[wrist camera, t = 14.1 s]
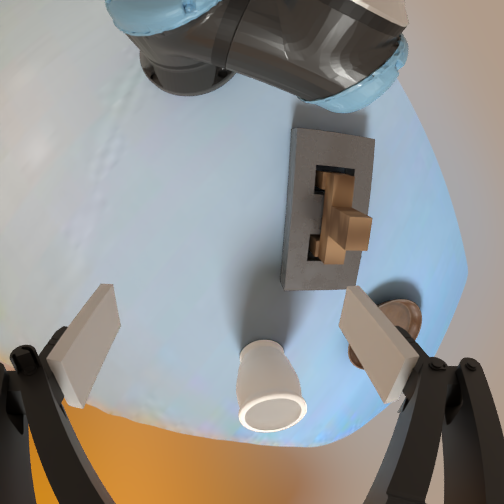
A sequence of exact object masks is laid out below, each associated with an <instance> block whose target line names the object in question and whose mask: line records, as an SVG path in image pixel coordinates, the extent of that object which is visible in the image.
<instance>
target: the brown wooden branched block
mask: <svg viewBox="0 0 504 504" xmlns="http://www.w3.org/2000/svg"><path fill="white" fill-rule="evenodd" d="M354 181H355V177H354V176H350V175H348V174H344V173H339V172H330V171H320V170H316V174H315V186H316V187H318V188H320V189H325V197H324V207H323V217H322V226H321V234H310V238H309V247H308V249H309V250H310V252H311V253H312V254H313V255H314V257H318V258H319V259H320V260H321V261H322V262H323V264H344V259H345V253H346V250H351V251H367V250H368V244H369V238H370V231H371V225H372V218H371V217H369V216H367V215H365V214H364V213H362V212H360V211H358V210H356V209H354V208H352V201H353V191H354Z"/></svg>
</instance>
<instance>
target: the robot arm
mask: <svg viewBox="0 0 504 504" xmlns="http://www.w3.org/2000/svg"><path fill="white" fill-rule="evenodd" d="M105 4H106V8H107V10H108V12H109V14H110V16H111V17H112V19H113V22H114V24H115V26H116V27H117V28H118V29H119V30H120V31H123V33H125V34H126V35H127V36H128V37H129V38H130V40H131V41H132V42H133V43H134V44H135V45H136V46H137V47H138V48H139V49H140V62H141V66H142V69H143V71H144V73H145V74H146V76H147V77H148V79H149V80H150V81H151V82H152V83H154V84H155V85H156V86H157V87H158V88H160V89H161V90H163V91H165V92H168V93H170V94H174V95H179V96H197V95H202V94H206V93H209V92H211V91H214V90H216V89H218V88H219V87H221V86H223V85H224V84H225V83H227V82H228V81H229V80H230V79H231V78H232V77H233V76H234V75H235V74H236V73H239V74H242V75H245V76H248V77H250V78H253V79H256V80H259V81H261V82H264V83H267V84H269V85H272V86H274V87H277V88H279V89H281V90H284V91H286V92H289V93H291V94H293V95H296V96H297V97H298V98H299V99H300V100H301V101H303V102H306V103H311V104H316V105H318V106H320V107H322V108H325V109H327V110H329V111H332V112H335V113H351V112H355V111H358V110H360V109H362V108H364V107H366V106H368V105H369V104H371V103H372V102H374V101H375V100H376V99H377V98H379V97H380V96H381V95H382V94H383V93H384V92H385V91H386V90H387V89H388V88H389V87H390V86H391V85H392V84H393V82H394V81H395V80H396V78H397V77H398V75H399V72H398V70H399V69H400V68H401V67H403V66H404V65H405V62H406V60H407V56H408V43H407V41H406V39H405V38H404V35H403V34H402V32H403V30H404V29H405V28H406V27H407V25H408V24H409V22H408V17H407V14H406V9H405V0H105ZM120 327H121V324H120V319H119V314H118V309H117V304H116V299H115V293H114V287H113V284H101V285H100V286H99V287H98V288H97V290H96V291H95V292H94V293H93V295H92V296H91V297H90V299H89V300H88V301H87V302H86V304H85V305H84V306H83V308H82V309H81V310H80V312H79V313H78V314H77V316H76V317H75V318H74V320H73V321H72V322H71V324H70V325H69V327H65V326H63V327H62V328H60V329H59V330H57V331H56V332H55V334H54V335H53V336H52V338H51V339H50V340H49V342H48V344H46V346H45V347H44V349H43V350H42V351H41V353H40V354H39V356H38V354H37V352H36V350H35V348H34V347H33V346H31V345H22V346H19V347H17V348H16V349H14V350H13V351H12V353H11V354H10V360H11V362H12V364H13V366H14V368H15V370H16V371H6V369H5V367H4V365H3V364H2V363H0V504H36V499H35V493H34V487H33V480H32V473H31V463H30V453H29V434H28V424H29V427H30V431H31V434H32V437H33V440H34V443H35V446H36V449H37V452H38V455H39V457H40V460H41V463H42V466H43V468H44V471H45V473H46V476H47V478H48V480H49V483H50V485H51V487H52V489H53V491H54V494H55V496H56V498H57V500H58V502H59V504H116V503H115V502H114V501H113V499H112V498H111V496H110V495H109V493H108V492H107V490H106V488H105V487H104V485H103V484H102V482H101V480H100V479H99V477H98V476H97V474H96V472H95V470H94V469H93V467H92V465H91V463H90V462H89V460H88V458H87V456H86V454H85V452H84V450H83V448H82V446H81V444H80V442H79V440H78V438H77V436H76V434H75V432H74V430H73V428H72V426H71V424H70V421H69V419H68V417H67V414H66V412H65V410H64V407H63V405H62V404H61V402H62V400H63V398H64V397H65V399H66V401H67V403H68V405H69V406H73V407H77V408H82V409H83V408H84V405H85V403H86V401H87V398H88V396H89V394H90V391H91V389H92V387H93V384H94V382H95V380H96V377H97V375H98V373H99V371H100V369H101V366H102V364H103V362H104V360H105V358H106V356H107V353H108V351H109V349H110V347H111V345H112V343H113V341H114V339H115V337H116V335H117V333H118V331H119V329H120ZM339 328H340V329H341V331H342V333H343V334H344V336H345V338H346V339H347V341H348V343H349V344H350V346H351V348H352V349H353V351H354V353H355V354H356V356H357V358H358V359H359V361H360V363H361V364H362V366H363V368H364V370H365V371H366V373H367V375H368V376H369V378H370V380H371V382H372V383H373V385H374V387H375V389H376V390H377V392H378V394H379V396H380V397H381V399H382V401H383V403H384V404H386V403H390V402H394V401H397V400H398V399H399V397H400V395H401V393H402V391H403V393H404V394H405V396H406V398H405V400H404V402H403V403H402V405H401V407H400V409H399V410H398V413H400V414H399V418H398V421H397V424H396V427H395V430H394V433H393V436H392V438H391V441H390V444H389V447H388V449H387V452H386V454H385V457H384V459H383V462H382V464H381V466H380V469H379V471H378V473H377V476H376V478H375V480H374V482H373V485H372V487H371V489H370V491H369V493H368V495H367V497H366V499H365V501H364V503H363V504H426V503H425V498H426V494H427V491H428V488H429V485H430V481H431V477H432V474H433V469H434V465H435V461H436V457H437V452H438V447H439V442H440V437H441V431H442V442H443V456H444V504H504V437H503V433H502V429H501V425H500V421H499V418H498V414H497V410H496V407H495V404H494V401H493V398H492V394H491V392H490V389H489V386H488V383H487V380H486V377H485V374H484V372H483V369H482V367H481V365H480V363H478V362H477V361H476V360H475V359H473V358H463V359H462V360H461V362H460V364H459V365H458V366H447V364H446V363H445V362H444V361H443V360H441V359H439V358H436V357H429V356H428V355H427V354H426V353H425V352H424V351H423V349H422V348H421V347H420V346H419V345H418V344H417V342H415V340H414V339H413V338H411V335H410V334H409V333H408V332H407V331H406V330H405V329H403V328H401V327H400V326H394V325H393V324H392V323H391V321H390V320H389V319H388V318H387V317H386V316H385V314H384V313H383V312H382V311H381V310H380V309H379V308H378V307H377V305H376V304H375V303H374V302H373V301H372V300H371V299H370V298H369V296H368V295H367V294H366V293H365V292H364V291H363V290H362V289H361V288H360V286H347V290H346V295H345V300H344V304H343V309H342V313H341V318H340V322H339Z"/></svg>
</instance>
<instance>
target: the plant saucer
mask: <svg viewBox="0 0 504 504" xmlns="http://www.w3.org/2000/svg"><path fill="white" fill-rule="evenodd" d="M377 307H378V308H379V309H380V310H381V311H382V312H383V313H384V314H385V316H386V317H387V318H388V319H389V320H390V321H391V323H392V324H393V325H394V326H400V327H401V328H403V329H405V330H406V331H407V332H408V333H409V334H410V335H411V338H413V339H414V340H416V338H417V336H418V334H419V331H420V328H421V323H422V315H421V311H420V309H419V307H418V306H417V304H415V303H414V302H412V301H410V300H406V299H394V300H390V301H386V302H383V303H381V304H379V305H377ZM348 356H349V359H350V361H351V363H352V364H353V365H354V366H356V367H357V368H359V369H363V370H364V368H363V366H362V364H361V363H360V361H359V359H358V358H357V356H356V354H355V353H354V351H353V349H352V348H351V346H350V344H349V346H348Z"/></svg>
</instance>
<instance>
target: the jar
mask: <svg viewBox="0 0 504 504" xmlns="http://www.w3.org/2000/svg"><path fill="white" fill-rule="evenodd" d="M236 393H237V399H238V404H239V407H240V410H239V420H240V422H241V424H242V425H243V426H244V427H246V428H247V429H250V430H252V431H256V432H276V431H280V430H284V429H287V428H289V427H291V426H293V425H295V424H296V423H298V422H299V421H300V420H301V419H302V418H303V417H304V416H305V414H306V412H307V405H306V402H305V400H304V399H303V397H302V396H301V387H300V382H299V379H298V376H297V374H296V372H295V370H294V368H293V367H292V365H291V363H290V362H289V360H288V359H287V357H286V356H285V355H284V350H283V348H282V347H281V345H280V344H278V343H277V342H275V341H272V340H258V341H254V342H252V343H250V344H248V345H247V346H246V347H244V349H243V350H242V351H241V353H240V366H239V370H238V377H237V384H236Z"/></svg>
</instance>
